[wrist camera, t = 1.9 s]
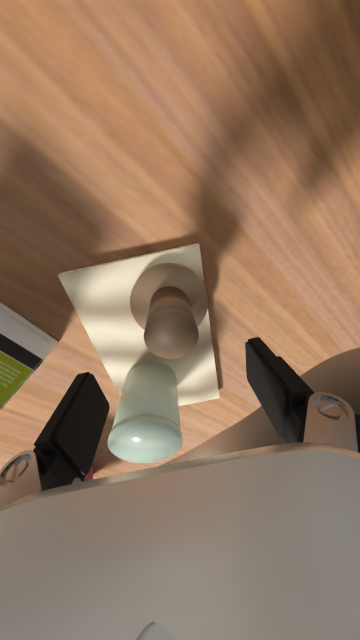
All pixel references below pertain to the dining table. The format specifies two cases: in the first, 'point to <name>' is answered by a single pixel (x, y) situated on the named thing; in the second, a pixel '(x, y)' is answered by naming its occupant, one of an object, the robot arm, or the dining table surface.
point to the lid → (169, 308)
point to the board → (124, 332)
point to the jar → (147, 415)
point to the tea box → (19, 351)
